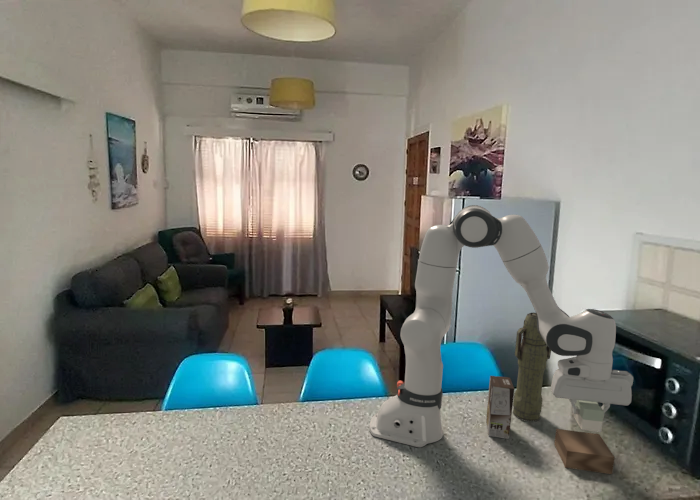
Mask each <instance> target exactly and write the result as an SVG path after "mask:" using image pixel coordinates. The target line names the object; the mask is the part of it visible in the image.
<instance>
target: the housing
mask: <svg viewBox="0 0 700 500" xmlns="http://www.w3.org/2000/svg"><path fill="white" fill-rule="evenodd" d="M574 404H575V406H578V407H579V409H580V412H579V415H578V414H573V413H572V415H573V417H574V419H575V421H576V423H577V424H578V426H579V428H580V429H581V430H582V431H590V432H597V433H602V428H603V420H604V418H603V414H604V411H603V410H602V408H601V407H602V406H600V405H599V402H591V401H582V400H577V402H576V403H574ZM604 415H605V414H604Z"/></svg>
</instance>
